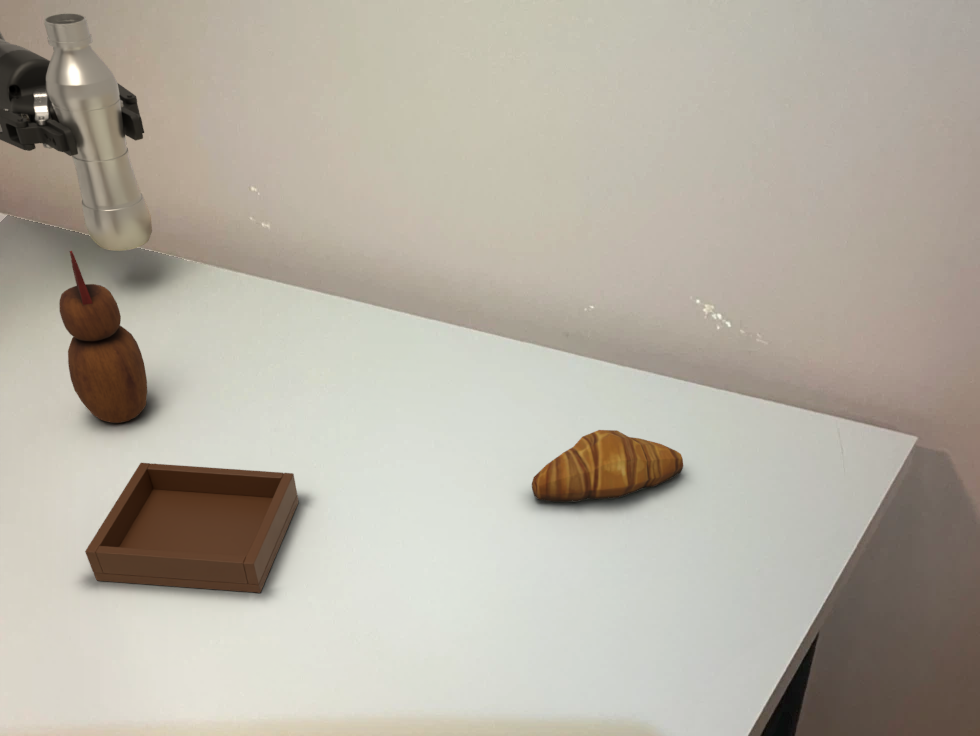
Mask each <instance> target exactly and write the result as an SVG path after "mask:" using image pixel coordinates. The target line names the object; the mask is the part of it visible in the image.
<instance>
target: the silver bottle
mask: <svg viewBox="0 0 980 736" xmlns="http://www.w3.org/2000/svg"><path fill="white" fill-rule="evenodd" d="M43 22H44V23H43V24H44V27H45V31H46V35H47V38H46V39H47V43H48V45H49V46H51V47H52V49H53V53H52V55H51V58H50V60H49V61H50V63H49V66H48V70H47V74H46V90H47V93H48V96H49V99H50V101H51V102H52V106H53V108H54V111H55V113H56V115H57V118H58V120H59V122H60V124H62V125H64V126H66V127H67V128H69V129H70V130H71V131H72V133H73V136H74V139H75V143H76V146H77V150H78V154H77V155H73V156H71V158H72V161H73V164H74V167H75V172H76V173H75V174H76V177H77V182H78V187H79V192H80V196H81V208H82V209H81V210H82V215H83V221H84V225H85V227H86V230H87V232H88V234H89V236H90V238H91V240H92V241H93V242H94V243H95V244H96V245H97V246H99V247H100V248H102V249H104V250H107V251H114V252H117V251H118V252H119V251H120V252H121V251H122V252H123V251H130V250H134V249H137V248H140V247H142V246H145V245H146V244H147V243H148V242H149V241H150V238H151V235H152V232H153V225H152V214H151V212H150V209H149V207H148V204H147V202H146V199H145V197H144V195H143V193H142V192H141V188H140V186H139V183H138V179H137V177H136V173H135V170H134V167H133V164H132V162H131V158H130V153H129V149H128V146H127V144H128V143H127V136H126V135H125V132H124V127H123V120H122V112H121V103H120V97H119V95H120V94H119V88H118V84H119V82H118V81H117V79H116V77H115V75H114V73H113V71H112V70H111V69H110V68H109V66H108V65H107V64H106V62H105V61H104V60H103V59H102V58H101V56H99V55H98V54H97V52H95V50H93V47H92V45H91V44H92V43H93V37H92V34H91V33H90V29H89V24H88V19H86V16H85V15H84V14H78V13H57V14H52V15H49V16H46V17H44V19H43Z"/></svg>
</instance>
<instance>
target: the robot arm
mask: <svg viewBox="0 0 980 736" xmlns="http://www.w3.org/2000/svg"><path fill="white" fill-rule="evenodd" d="M49 63H50V60H49V59H48V58H45V57H44V56H42V55H39V54H38V53H36V52H33V51H32V50H30V49H28V48H26V47H24V46H21V45H17V44H13V43H10V42H8V41H6V39H5V37H4V35H3V34H2V32H1V31H0V141H2V142H4V143H6V144H8V145H11V146H13V147H16V148H18V149H21V150H22V151H27V152H30V151H33V150H35V149H36V147H37V146H36V144H42V147H43V148H45V149H54V150H56V151H58V152H61V153H64V154H66V155H67V156H69V157H72V156H73V155H77V154H78V150H77V146H76V143H75V139H74V136H73V133H72V131H71V130H70V129H69V128H67V127H66V126H64V125H62V124H60V122H59V120H58V118H57V115H56V113H55V111H54V108H53V106H52V102H51V101H50V99H49V96H48V93H47V90H46V74H47V70H48V66H49ZM118 88H119V94H120V95H119V97H120V103H121V112H122V120H123V127H124V132H125V137H128V138H130V139H132V140H134V141H139V140H140V141H141V140H143V139H144V134H145V130H144V125H143V119H142V117H141V113H140V109H139V105H138V98H137V96H136V94H134V93H133V92H131V91H130V90H128V89H127V88H126V87H124V86H123V85H122V84H120V83H118Z"/></svg>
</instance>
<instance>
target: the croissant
mask: <svg viewBox="0 0 980 736" xmlns="http://www.w3.org/2000/svg"><path fill="white" fill-rule="evenodd" d="M683 468H684V459H683V456H682V453H680V452H679V451H677V450H675V449H673V448H671V447H670V446H669V447H668V446H667V445H664V444H662V443H660V442H656V441H651V440H647V439H643V438H639V437H633V436H628V435H626V434H624V433H622V432H621V431H619V430H615V429H614V430H613V429H598V430H595V431H593V432H590V433H588V434H585V435H583V436H581V437H580V439H579V440H578V441H577V442H576V443H575V444H574V445H573V446H572V447H570V448H569V449H567V450H565V451H564V452H563V453H561V454H559V455H558V456H557V457H555V458H554V459H552V460H551V461H550V462H548V463H546V465H544V467H542V469H540V470H539V471H538V473H536V474H535V475H534V476H533V478H532V481H531V489H532V492H533V496H534V498H536V499H537V500H539V501H545V502H553V503H566V502H567V503H568V502H569V503H572V502H573V503H575V502H582V501H585V500H611V499H619V498H623V497H625V496H628V495H632V494H634V493H637V492H638V491H641V490H643V489H649V488H654V487H657V486H658V485H660V484H664V483H665V482H668V481H670V480H672V479H673V478H675V477H676V476H678V475H679V474H681V473H682V471H683Z"/></svg>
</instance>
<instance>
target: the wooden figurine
mask: <svg viewBox="0 0 980 736" xmlns="http://www.w3.org/2000/svg"><path fill="white" fill-rule="evenodd" d="M69 256H70V263H71V267H72V273H73V276H74V280H75V285H74V286H72V287H69V288H67V289H66V290H64V291H63V292H62V293H61V295H60V297H59V302H58V303H59V314H60V318H61V320H62V321H61V322H62V323H63V326H64V327H65V330H66V331H67V332H68V333H69V335H70V336H72V338H71V341H70V343H69V346H68V350H67V363H68V372H69V377H70V380H71V383H72V387H73V389H74V392H75V394H76V395H77V396H78V398H79V400H80V402H81V403H82V404H83V405H84V406H85V408H86V409H87V410H88V411H89V413H91V414H92V416H94V417H95V418H97V419H98V420H101V421H103V422H107V423H114V424H120V423H126V422H129V421H131V420H133V419H135V418H137V417H138V416H139V415H140V414H141V413H142V412H143V410H144V409H145V408H146V405H147V397H148V378H147V372H146V367H145V361H144V358H143V355H142V352H141V349H140V346H139V344H138V342H137V340H136V339H135V338H134V337H135V336H133V334H132V333H131V332H129V330H128V329H126V328H125V327H123V326H121V320H122V315H121V311H120V309H119V306H118V303H117V301H116V298H115V297H114V296H113V294H112V293H111V291H110V290H109V289H108V288H106V287H105V286H102V285H101V284H100V285H99V284H94V283H86V282H85V280H84V277H83V275H82V272H81V268H80V267H79V265H78V262H77V259H76V257H75V254H74V252H73V250H69Z"/></svg>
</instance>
